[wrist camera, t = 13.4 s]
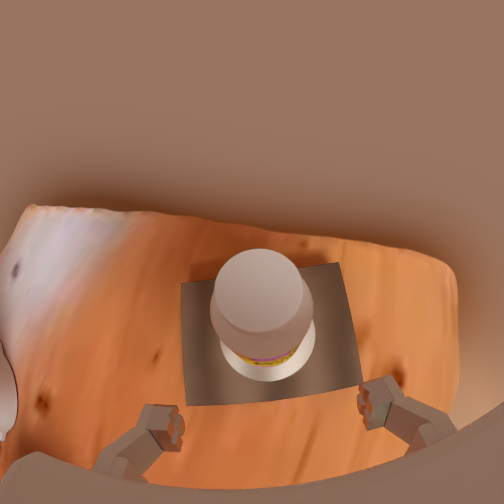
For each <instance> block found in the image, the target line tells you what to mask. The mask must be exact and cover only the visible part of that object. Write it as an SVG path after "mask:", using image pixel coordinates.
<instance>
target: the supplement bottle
mask: <svg viewBox="0 0 504 504" xmlns="http://www.w3.org/2000/svg"><path fill="white" fill-rule="evenodd" d="M210 316H211V321H212V325H213V327H214V329H215V331H216V333H217V335H218V336H219V338H220V339H221V340H222V342H223V343H224V344H225V345H226V346H227V347H228V348H229V349H230V350H232V351H233V352H234V353H235V354H236V355H237V356H238V357H239V358H241V359H242V360H243V361H245V362H246V363H248V364H250V365H252V366H255V367H259V368H272V367H276V366H279V365H281V364H283V363H285V362H286V361H288V360H289V359H290V358H291V357H292V356H293V355H294V354H295V352H296V351H297V349H298V348H299V346H300V344H301V342H302V340H303V339H304V337H305V335H306V333H307V332H308V329H309V327H310V324H311V321H312V317H313V300H312V296H311V293H310V290H309V288H308V286H307V284H306V283H305V281H304V280H303V278H302V277H301V276H300V273H299V271H298V269H297V268H296V266H295V265H294V264H293V263H292V262H291V261H290V260H289V259H288V258H287V257H286V256H284V255H283V254H280V253H278V252H276V251H273V250H269V249H260V248H258V249H250V250H246V251H243V252H240V253H238V254H236V255H235V256H233V257H232V258H230V259H229V260H228V261H227V262H226V263H225V264H224V265H223V267H222V268H221V269H220V271H219V273H218V275H217V278H216V281H215V286H214V292H213V295H212V298H211V304H210Z"/></svg>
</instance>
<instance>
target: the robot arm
mask: <svg viewBox="0 0 504 504" xmlns="http://www.w3.org/2000/svg"><path fill="white" fill-rule="evenodd" d="M358 389H359V392H360V393H359V394H358V395H357V407H358V410H359V413H360V414H361V415H363V416H364V417H363V423H364V425H365V428H366V430H367V431H369V430H373V429H376V428H380V427H383V426H384V427H385V428H386V429H387V430H389V431H390V432H392V433H393V434H395V435H396V436H398V437H399V438H401V439H402V440H403V441H405V442H406V443H408V444H409V445H410V446H409V448H408V449H407V451H406V453H405V455H404V456H403V457H400V458H398V459H395V460H392V461H389V462H386V463H384V464H381V465H378V466H374V467H371V468H368V469H365V470H361V471H358V472H354V473H350V474H346V475H342V476H338V477H334V478H329V479H324V480H319V481H314V482H308V483H302V484H295V485H288V486H280V487H270V488H257V489H194V488H182V487H172V486H163V485H156V484H150V483H149V482H148V481H147V480H146V479H145V478H144V477H143V476H142V474H143V473H144V472H145V471H146V470H147V469H148V468H149V467H150V466H151V465H152V464H153V463H154V462H155V461H156V460H157V459H158V458H159V457H160V455H161V454H162V453H163V451H168V452H181V447H182V442H183V441H182V439H181V438H180V437H181V436H182V435H183V434H184V432H185V422H184V419H183V417H182V416H181V415H180V414H178V413H179V409H178V407H177V405H161V404H145V405H144V406H143V409H142V411H141V414H140V417H139V419H138V422H137V425H136V427H135V428H132V429H131V430H129V431H128V432H127V433H125V434H124V435H123V436H121V437H120V438H119V439H117V440H116V441H114V442H113V443H112V444H110V445H109V446H108V447H106V448H105V449H103V450H102V451H101V452H100V453H99V455H98V458H97V460H96V463H95V465H94V467H93V470H89V469H85V468H82V467H79V466H76V465H73V464H70V463H67V462H65V461H62V460H59V459H57V458H54V457H52V456H49V455H47V454H45V453H42V452H39V451H35V452H32V453H30V454H28V455H26V456H24V457H22V458H20V459H18V460H16V461H15V462H14V463H13V464H12V465H11V466H10V468H9V469H8V470H7V472H6V474H5V475H4V477H3V479H2V480H1V482H0V504H504V402H503V403H501V404H500V405H498V406H497V407H496V408H494V409H493V410H491V411H490V412H488V413H487V414H485V415H483V416H482V417H480V418H479V419H477V420H476V421H474V422H472V423H471V424H469V425H467V426H466V427H464V428H462V429H460V430H458V431H457V430H456V428H455V426H454V425H453V423H452V422H451V420H450V418H449V417H448V415H447V414H446V413H444V412H442V411H439V410H437V409H435V408H433V407H430V406H428V405H426V404H424V403H421V402H419V401H417V400H415V399H413V398H411V397H405V396H404V394H403V392H402V391H401V389H400V388H399V386H398V384H397V383H396V381H395V379H394V378H393V376H392V375H387V376H384V377H381V378H376V379H373V380H370V381H366V382H362V383H360V384H359V388H358ZM16 415H17V391H16V385H15V380H14V376H13V373H12V370H11V367H10V365H9V363H8V361H7V359H6V358H5V356H4V353H3V348H2V344H1V342H0V441H4V440H5V438H6V434H7V432H8V431H9V430H10V429H11V428H12V427H13V425H14V423H15V419H16Z"/></svg>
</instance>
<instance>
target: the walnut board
mask: <svg viewBox="0 0 504 504" xmlns="http://www.w3.org/2000/svg"><path fill="white" fill-rule="evenodd" d="M297 269H298V271H299V273H300V276H301V277H302V278H303V280H304V281H305V283H306V284H307V286H308V288H309V290H310V293H311V296H312V300H313V317H312V321H311V324H310V327H309V329H308V332H307V333H306V335H305V337H304V339H303V340H302V342H301V344H300V346H299V348H298V349H297V351H296V352H295V354H294V355H293V356H292V357H291V358H290V359H289V360H288V361H286V362H285V363H283V364H281V365H279V366H276V367H272V368H259V367H255V366H252V365H250V364H248V363H246V362H245V361H243V360H242V359H241V358H239V357H238V356H237V355H236V354H235V353H234V352H233V351H232V350H230V349H229V348H228V347H227V346H226V345H225V344H224V343H223V342H222V340H221V339H220V338H219V336H218V335H217V333H216V331H215V329H214V327H213V325H212V321H211V316H210V304H211V298H212V295H213V292H214V286H215V281H216V279H212V280H203V281H195V282H187V283H181V317H182V347H183V366H184V381H185V395H186V406H206V405H230V404H244V403H255V402H265V401H274V400H282V399H289V398H296V397H302V396H308V395H314V394H319V393H325V392H330V391H334V390H339V389H344V388H348V387H352V386H356V385H359V384H360V383H362V382H363V377H362V371H361V365H360V359H359V353H358V348H357V342H356V337H355V332H354V327H353V322H352V317H351V312H350V308H349V303H348V299H347V294H346V290H345V286H344V281H343V277H342V273H341V269H340V265H339V262H336V263H329V264H323V265H316V266H309V267H302V268H297Z"/></svg>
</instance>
